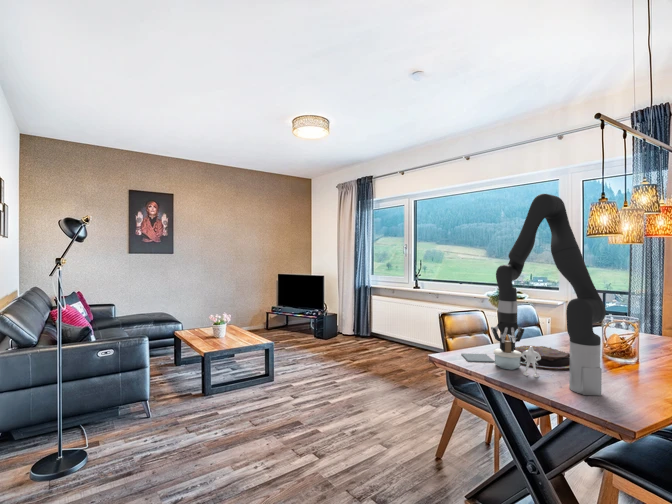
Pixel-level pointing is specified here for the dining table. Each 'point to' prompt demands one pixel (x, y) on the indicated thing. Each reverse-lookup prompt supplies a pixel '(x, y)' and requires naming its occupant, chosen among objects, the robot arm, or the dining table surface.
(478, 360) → the mat
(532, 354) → the figurine
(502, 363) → the pale green rounded block
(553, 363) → the chocolate cake
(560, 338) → the dining table surface
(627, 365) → the dining table surface
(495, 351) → the cover
